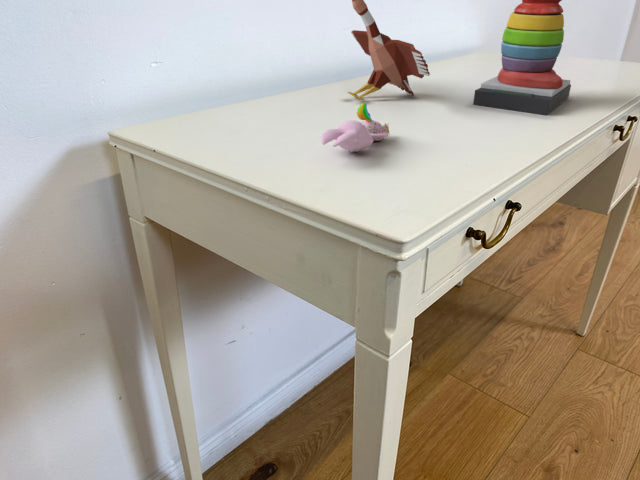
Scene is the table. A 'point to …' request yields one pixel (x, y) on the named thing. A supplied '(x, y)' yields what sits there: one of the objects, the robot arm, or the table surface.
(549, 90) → the scale
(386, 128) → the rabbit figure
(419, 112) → the table surface
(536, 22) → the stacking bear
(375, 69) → the decorative bird
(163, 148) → the table surface
